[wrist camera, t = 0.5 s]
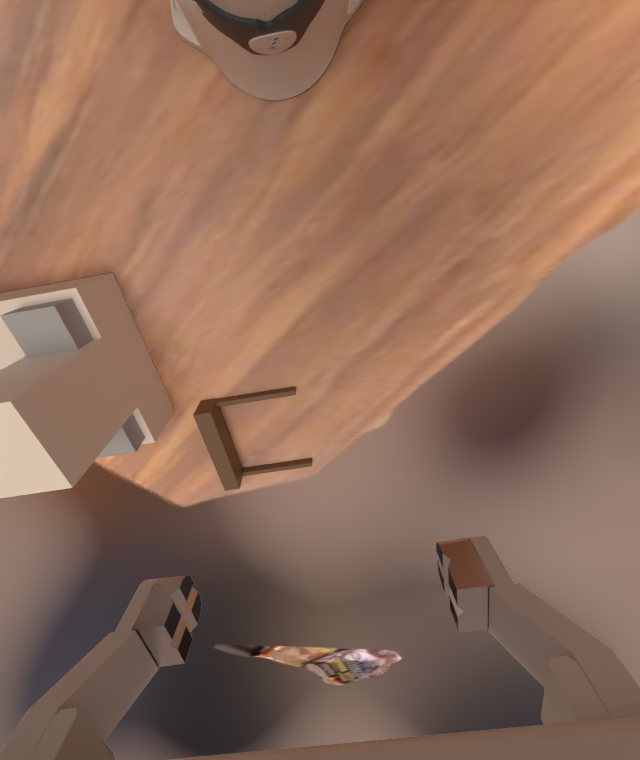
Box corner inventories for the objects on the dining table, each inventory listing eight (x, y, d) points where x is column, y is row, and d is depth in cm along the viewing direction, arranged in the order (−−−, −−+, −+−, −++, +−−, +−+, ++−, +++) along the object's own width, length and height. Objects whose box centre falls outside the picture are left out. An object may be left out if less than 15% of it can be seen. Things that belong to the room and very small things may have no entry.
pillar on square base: (-23, 297, 45) (-271, 374, 26) (112, 272, 44) (-40, 333, 25) (63, 427, 56) (-66, 551, 36) (174, 410, 55) (101, 528, 35)
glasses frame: (200, 400, 54) (193, 415, 50) (294, 386, 53) (293, 399, 50) (229, 473, 62) (225, 490, 58) (312, 461, 61) (312, 478, 57)
